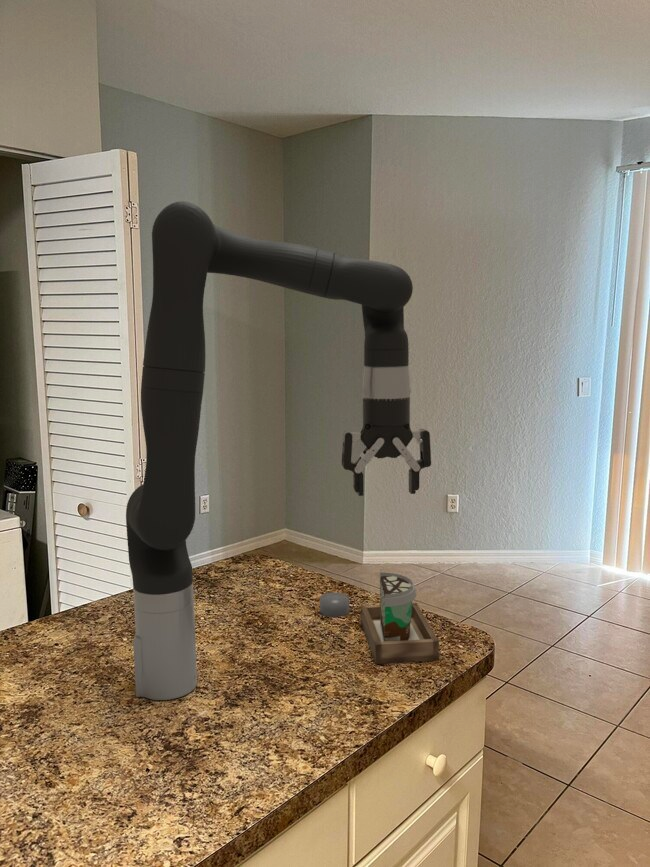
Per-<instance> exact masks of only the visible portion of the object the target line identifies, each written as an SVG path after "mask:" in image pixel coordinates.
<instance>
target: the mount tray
mask: <svg viewBox="0 0 650 867" xmlns="http://www.w3.org/2000/svg"><path fill="white" fill-rule="evenodd" d="M360 622H361V623H360V624H361V626H362V629H363V632H364V635H365V637H366V641H367V643H368V646H369V649H370V652H371V654H372V657H373V660H374V663H375V665H380V664H381V665H383V664H385V665H386V664H398V663H417V662H434V661H439V659H440V640H439V638H438V637H437V636H436V634H435V632H434V630H433V628H432V627H431V625H430V623H429V622H428V620H427V619H426V617H425V615H424V613H423V612H422V609H421V607H420V606H419V605H418V603H417V602H414V603H413V602H412V612H411V624H410V637H409V639H408V640H405V641H386V642H384V641H383V636H382V631H381V625H380V604H372V605H371V604H370V605H361V606H360Z"/></svg>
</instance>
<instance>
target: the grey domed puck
mask: <svg viewBox="0 0 650 867" xmlns="http://www.w3.org/2000/svg"><path fill="white" fill-rule="evenodd" d="M319 613H320V614H321V615H322V616H324V617H328V618H341V617H345V616H346V615H348V614H350V597H349V595H348V594H346V593H343V592H336V591H335V592H334V591H333V592H332V591H331V592H326V593H324V594H321V595H320V596H319Z"/></svg>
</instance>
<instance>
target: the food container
mask: <svg viewBox="0 0 650 867" xmlns="http://www.w3.org/2000/svg"><path fill="white" fill-rule="evenodd" d="M416 598H417V590H416V586H415V585H414V581H413V580H412V579H411V578H410V577H408V576H406V575H402V574H401V573H400V574H399V573H394V572H385V571H384V572H383V571H381V572H380V571H379V605H380V625H381V631H382V636H383V641H384V642H386V641H405V640H408V639H409V637H410V624H411V612H412V603H413V601H414V600H415V599H416Z"/></svg>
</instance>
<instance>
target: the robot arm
mask: <svg viewBox="0 0 650 867" xmlns="http://www.w3.org/2000/svg"><path fill="white" fill-rule="evenodd" d="M151 249H152V300H151V306H150V307H151V308H150V313H149V319H148V325H147V332H146V338H145V345H144V353H143V361H142V375H141V383H140V384H141V385H140V386H141V387H140V410H141V417H142V418H141V420H142V427H143V432H144V441H145V449H146V450H145V452H146V454H145V455H146V457H145V458H146V461H145V472H144V478H143V484H141V485H139V486H138V487H137V488H136V489H135V490H133V492H132V493H131V495H130V497H129V498H128V501H127V503H126V509H125V526H126V539H127V552H128V561H129V568H130V572H131V577H132V588H133V589H132V590H133V591H132V592H133V607H134V608H133V609H134V624H135V625H134V626H135V627H134V628H135V634H134V637H133V638H132V639H133V640H132V646H133V664H134V666H133V667H134V680H135V682H134V683H135V685H134V686H135V697H136V698H140V697H142V698H147V699H149V700H153V701H168V700H174V699H175V700H176V699H177V698H178V699H179V698H181V697H184V696H186V695H188V694H189V693H191V692H192V691H194V690H195V688H197V684H198V669H197V668H198V667H197V645H196V644H197V643H196V642H197V641H196V625H195V624H196V623H195V622H196V621H195V620H196V619H195V600H194V599H195V597H194V596H195V595H194V577H193V576H194V574H193V566H192V562H191V559H190V557H189V553H188V548H187V539H188V538H189V536H190V535H191V533H192V530H193V529H194V526H195V521H196V483H195V482H196V480H195V479H196V478H195V477H196V476H195V475H196V474H195V473H196V472H195V471H196V469H195V468H196V465H195V464H196V454H197V453H196V452H197V444H198V439H199V430H200V424H201V423H200V421H201V414H202V413H201V410H202V404H203V395H204V387H205V386H204V385H205V376H206V373H205V372H206V335H205V334H206V331H205V321H204V295H205V289H206V281H207V276H208V273H209V274H218V275H219V274H220V275H227V276H234V277H240V278H247V279H250V280H256V281H259V282H264V283H267V284H271V285H274V286H278V287H282V288H285V289H288V290H293V291H296V292H300V293H304V294H308V295H312V296H316V297H320V298H324V299H328V300H335V301H340V300H343V301H348V302H350V303H351V302H352V303H355V304H358V305H361V311H362V312H361V313H362V321H363V329H364V341H363V342H364V344H363V345H364V346H363V347H364V348H363V349H364V350H363V356H364V357H363V359H364V360H363V366H364V367H363V375H362V376H363V377H362V428H361V431H360V432H353V431H351V432H350V431H349V430H345V431H344V432H343V433H342V447H341V448H342V452H341V466H342V467H343V469H344V470H346V471H350V472H352V474H353V475H352V477H353V478H352V480H353V485H352V486H353V491H354V492H355V493H357V495H358V497H363V496H364V472H363V470H364V469H365V467H366V466H367V465H368V464H370V462H371V461H372V459H373V458H377V459H384V458H390V459H398V458H397V457H400V456H401V457H402V459H403V460H404V461H405V462H406V464H407V465H408V466H409V467H410V468H409V469H408V493H409V494H410V495H415V494H416V491H419V488H420V474H421V473H420V472H421V470H422V469H424V468H429V467H431V466H432V453H431V452H432V451H431V434H430V431H428V430H427V429H425V428H421V429H419V430H411V423H410V422H411V419H410V418H411V416H410V415H411V392H412V391H411V390H412V388H411V379H410V370H409V364H410V363H409V356H410V355H409V354H410V353H409V347H410V346H409V337H408V334H407V332H406V330H405V321H404V319H405V317H404V316H405V312H404V311H405V309H404V307H405V306H406V305H407V304H408V303H409V301H410V300H411V298H412V295H413V293H414V292H413V291H414V290H413V288H414V287H413V282H412V279H411V276H410V274H408V273H407V271H406V270H404V269H403V268H401V267H399V266H397V265H394V264H392V263H391V264H390V263H388V262H382V261H377V260H371V259H364V258H355V257H351V256H350V257H349V256H347V255H344V254H340V253H337V252H334V251H330V250H326V249H323V248H320V247H319V248H318V247H315V246H311V245H305V244H299V243H293V242H287V241H286V242H285V241H275V240H266V239H260V238H254V237H249V236H246V235H242V234H239V233H237V232H233V231H230V230H227V229H225V228H223V227H221V226H218V225H216V224H214V223H213V220H212V219H211V218H210V216H209V215H208V214H207V213H206V211H204V210H203V208H201V207H200V206H198V205H196V204H195V203H192V202H190V201H183V200H181V201H175V202H172V203H170V204H168V205H167V206H165V207H164V208H163V209H162V210H161V211H160V212H159V213H158V215H157V216H156V218H155V219H154V222H153V225H152V230H151ZM413 438H414V439H415V442H416V443H417V444H419V458H420V459H417V460H416V459H415V458H414V456H413V455H412V454H411V452H410V451H409V450H408V448H407V447H408V445H409V444H410V443H411V441H412V440H413ZM358 440H360V442H362V443H363V445H364V446H365V447H364V448H363V450H362V452H361V453H360V454H359V456H358V458H357V459H356V461H355V462H353V461H352V456H353V455H352V453H353V452H352V451H353V447H354V446H356V445H357V442H358Z"/></svg>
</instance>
